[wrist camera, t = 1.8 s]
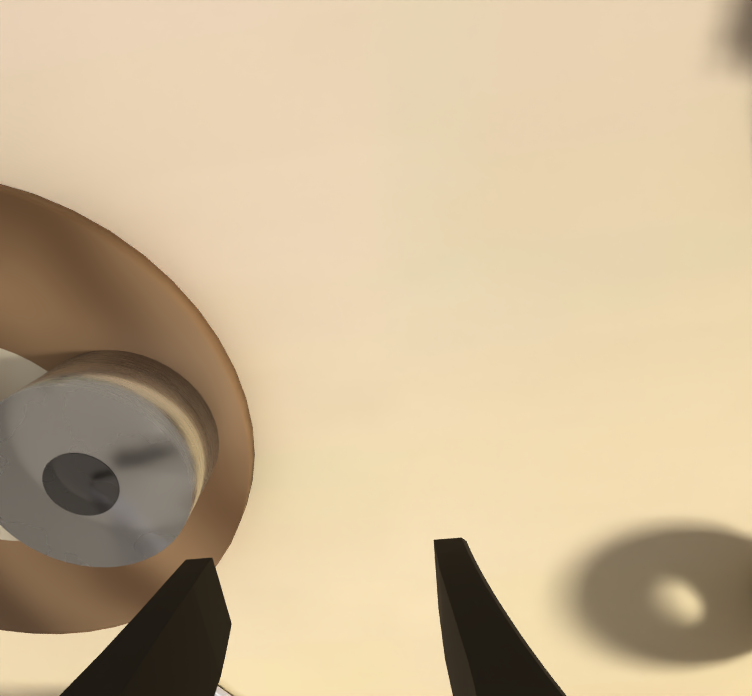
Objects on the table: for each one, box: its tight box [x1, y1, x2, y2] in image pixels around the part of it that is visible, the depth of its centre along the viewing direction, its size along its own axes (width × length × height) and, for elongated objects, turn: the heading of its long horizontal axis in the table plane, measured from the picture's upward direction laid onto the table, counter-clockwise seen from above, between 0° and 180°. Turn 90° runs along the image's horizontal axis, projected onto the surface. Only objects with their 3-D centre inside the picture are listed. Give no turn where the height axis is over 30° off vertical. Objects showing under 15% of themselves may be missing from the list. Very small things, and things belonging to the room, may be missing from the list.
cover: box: [0, 350, 219, 567], centre depth 17 cm, size 7×7×3 cm
